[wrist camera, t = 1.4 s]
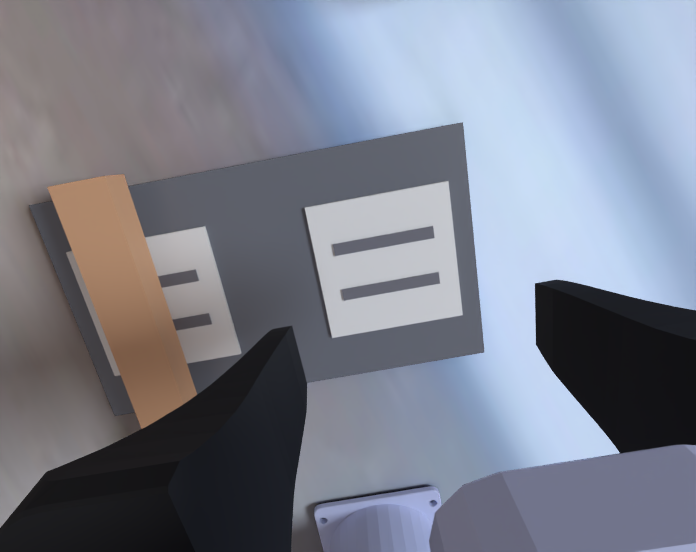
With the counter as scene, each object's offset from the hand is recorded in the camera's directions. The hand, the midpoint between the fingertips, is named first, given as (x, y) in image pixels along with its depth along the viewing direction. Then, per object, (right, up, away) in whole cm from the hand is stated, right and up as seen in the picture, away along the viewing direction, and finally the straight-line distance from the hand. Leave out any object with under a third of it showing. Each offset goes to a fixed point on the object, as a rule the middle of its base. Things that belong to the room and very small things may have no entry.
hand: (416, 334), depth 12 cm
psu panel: (-6, +2, +10) cm, 11 cm away
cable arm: (-11, -2, +8) cm, 14 cm away
